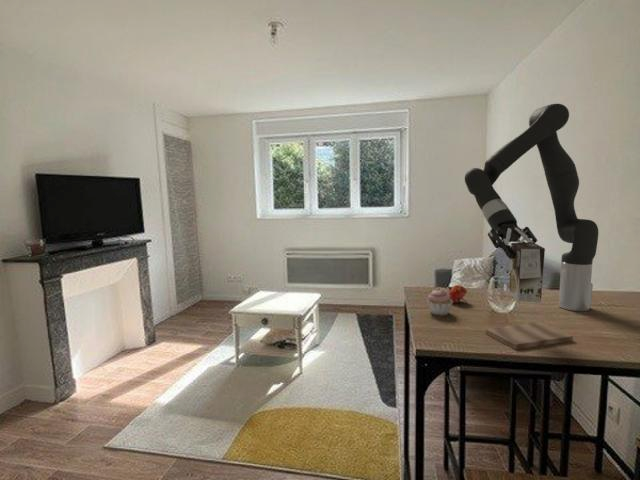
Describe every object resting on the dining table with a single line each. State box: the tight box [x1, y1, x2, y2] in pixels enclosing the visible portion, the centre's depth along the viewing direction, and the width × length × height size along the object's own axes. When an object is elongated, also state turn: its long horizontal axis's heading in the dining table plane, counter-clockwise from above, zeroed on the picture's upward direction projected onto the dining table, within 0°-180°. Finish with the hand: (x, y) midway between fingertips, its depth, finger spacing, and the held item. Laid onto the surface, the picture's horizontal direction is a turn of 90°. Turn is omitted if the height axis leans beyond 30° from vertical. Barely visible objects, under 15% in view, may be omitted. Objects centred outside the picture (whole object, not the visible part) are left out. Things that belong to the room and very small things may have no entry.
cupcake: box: [426, 286, 454, 317], centre depth 128 cm, size 9×9×10 cm
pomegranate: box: [446, 284, 468, 304], centre depth 140 cm, size 7×7×10 cm
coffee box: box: [508, 241, 546, 303], centre depth 104 cm, size 9×6×16 cm
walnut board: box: [485, 321, 574, 351], centre depth 106 cm, size 20×12×2 cm, turn 104°
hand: (524, 256), depth 105 cm, fingers closed on coffee box, 7 cm apart
